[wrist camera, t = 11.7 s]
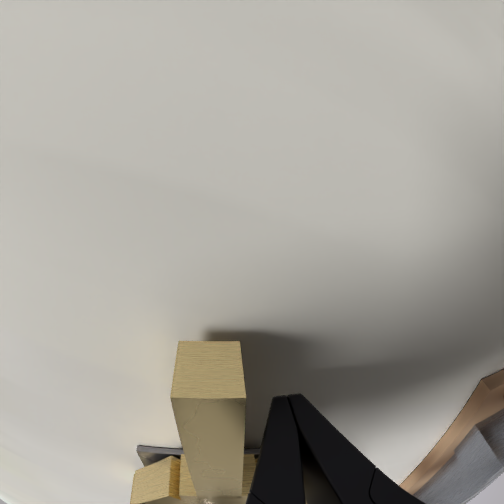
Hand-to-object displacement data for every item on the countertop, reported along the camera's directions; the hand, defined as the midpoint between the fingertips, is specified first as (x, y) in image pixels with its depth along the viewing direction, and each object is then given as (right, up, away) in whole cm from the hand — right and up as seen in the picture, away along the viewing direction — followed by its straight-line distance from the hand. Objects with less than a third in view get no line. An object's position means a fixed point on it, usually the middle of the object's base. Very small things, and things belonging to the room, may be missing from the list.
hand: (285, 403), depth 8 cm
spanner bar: (+15, -12, +7) cm, 20 cm away
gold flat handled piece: (-2, -5, +2) cm, 6 cm away
